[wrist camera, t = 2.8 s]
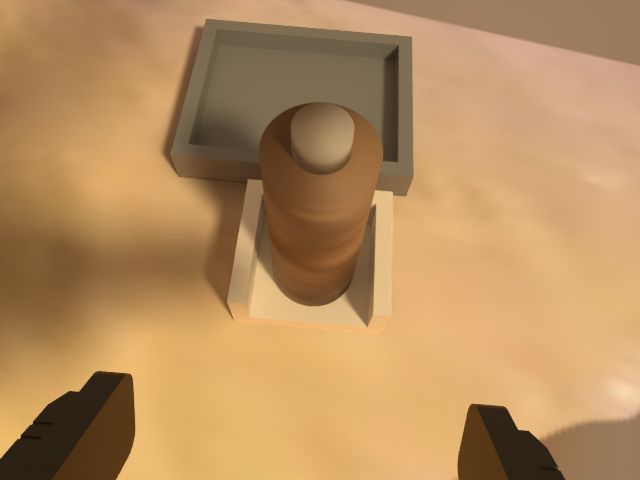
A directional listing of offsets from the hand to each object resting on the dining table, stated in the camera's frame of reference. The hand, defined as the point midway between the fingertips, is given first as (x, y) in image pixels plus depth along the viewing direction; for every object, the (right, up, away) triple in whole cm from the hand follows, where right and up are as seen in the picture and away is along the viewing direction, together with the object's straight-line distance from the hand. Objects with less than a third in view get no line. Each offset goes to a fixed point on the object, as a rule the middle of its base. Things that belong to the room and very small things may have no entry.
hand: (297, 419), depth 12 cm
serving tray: (-1, +14, +25) cm, 29 cm away
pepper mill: (0, +3, +19) cm, 19 cm away
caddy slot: (0, +2, +20) cm, 20 cm away
